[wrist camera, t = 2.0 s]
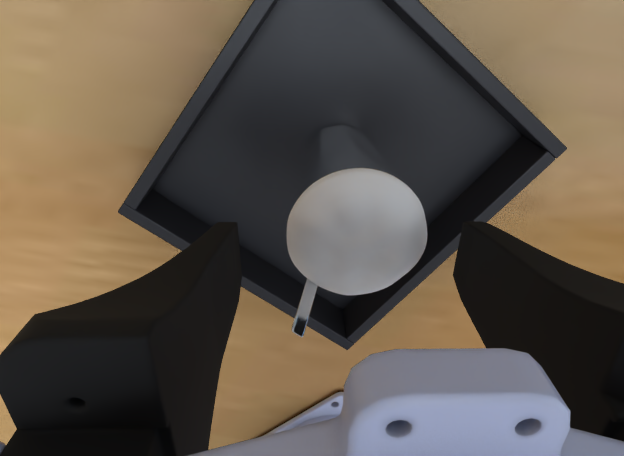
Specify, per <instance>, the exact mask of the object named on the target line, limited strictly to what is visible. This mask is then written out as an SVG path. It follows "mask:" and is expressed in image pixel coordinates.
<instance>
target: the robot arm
mask: <svg viewBox="0 0 624 456" xmlns="http://www.w3.org/2000/svg"><path fill="white" fill-rule="evenodd" d="M453 277H454V280H455V283H456V286H457V289H458V292H459V295H460V298H461V300H462V302H463V305H464V307H465V308H466V310H467V312H468V314H469V316H470V318H471V320H472V322H473V324H474V326H475V328H476V330H477V331H478V333H479V335H480V337H481V339H482V341H483V343H484V345H485V346H486V348H481V349H394V350H389V351H384V352H380V353H375V354H371V355H369V356H368V357H366V358H365V359H364V360H362V361H361V362H359V363H358V364H357V365H355V366H354V367H352V368H351V371H350V373H349V375H348V378H347V380H346V382H345V384H344V392H337V393H335V394H334V395H332V396H330V397H328V398H327V399H325V400H323V401H322V402H320V403H318V404H316V405H315V406H313V407H311V408H310V409H308V410H306V411H304V412H303V413H301V414H299V415H298V416H296V417H294V418H292V419H291V420H289V421H287V422H286V423H284V424H282V425H281V426H279V427H277V428H275V429H274V430H272V431H270V432H269V433H267V434H265V435H263V436H262V437H258V438H254V439H250V440H246V441H242V442H238V443H234V444H230V445H227V446H223V447H219V448H215V449H211V450H208V446H209V438H210V431H211V424H212V417H213V411H214V404H215V397H216V391H217V385H218V379H219V373H220V368H221V363H222V359H223V355H224V352H225V348H226V344H227V341H228V337H229V334H230V330H231V327H232V323H233V320H234V316H235V313H236V309H237V305H238V302H239V295H240V287H241V280H242V271H241V259H240V247H239V235H238V223H237V222H218V223H216V224H215V225H214V226H212V227H211V228H210V229H209V230H208V231H207V232H205V233H204V234H203V235H202V236H201V237H199V238H198V239H197V240H196V241H195V242H193V243H192V244H191V245H190V246H188V247H187V248H186V249H184V250H183V251H182V252H180V253H179V254H177V255H176V256H175V257H173V258H172V259H171V260H169V261H168V262H166V263H165V264H163V265H162V266H160V267H158V268H157V269H155V270H153V271H152V272H150V273H148V274H146V275H144V276H143V277H141V278H139V279H137V280H134V281H132V282H130V283H128V284H126V285H124V286H121V287H119V288H117V289H115V290H113V291H110V292H108V293H105V294H102V295H100V296H97V297H94V298H91V299H88V300H85V301H82V302H79V303H76V304H73V305H69V306H65V307H62V308H58V309H54V310H50V311H47V312H43V313H38V314H35V315H34V316H33V317H32V318H31V319H30V320H29V322H28V323H27V324H26V325H25V326H24V327H23V329H22V330H21V331H20V332H19V333H18V334H17V336H16V337H15V338H14V339H13V340H12V342H11V343H10V344H9V345H8V346H7V347H6V349H5V350H4V351H3V352H2V353H1V355H0V394H1V396H2V399H3V401H4V403H5V405H6V407H7V409H8V411H9V413H10V415H11V417H12V419H13V422H14V424H15V426H16V428H17V430H16V432H15V433H14V435H13V436H12V438H11V439H10V441H9V442H8V444H7V445H5V444H4V443H3V442H1V441H0V456H624V284H623V283H620V282H616V281H613V280H610V279H607V278H604V277H601V276H599V275H596V274H593V273H591V272H588V271H586V270H583V269H580V268H578V267H575V266H573V265H571V264H568V263H566V262H564V261H562V260H559V259H557V258H555V257H553V256H551V255H549V254H547V253H545V252H543V251H541V250H539V249H537V248H535V247H533V246H531V245H529V244H527V243H525V242H523V241H521V240H519V239H518V238H516V237H514V236H512V235H510V234H508V233H506V232H504V231H502V230H501V229H499V228H497V227H495V226H492V225H490V224H488V223H485V222H482V221H465V222H463V226H462V231H461V236H460V241H459V246H458V251H457V257H456V262H455V267H454V272H453Z"/></svg>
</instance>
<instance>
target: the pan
mask: <svg viewBox="0 0 624 456" xmlns="http://www.w3.org/2000/svg"><path fill="white" fill-rule="evenodd" d="M339 124H344V125H347V126H349V127H352V128H354V129H357V130H359V131H362V132H363V133H364V135H365V136H366V137H367V139H368V140H369V141H370V142H371V144H372V145H373V146H374V148H375V149H376V150H377V151H378V153H379V154H380V155H381V156H382V158H383V159H384V160H385V161H386V163H387V164H388V165H389V166H390V167H391V168H392V169H393V170H394V171H395V172H396V174H397V175H398V176H399V177H400V178H401V179H402V180H403V181H404V182H405V183H406V184H407V185H408V187H409V188H410V189H411V190H412V191H413V192H414V193H415V195H416V196H417V197H418V199H419V200H420V202H421V204H422V207H423V210H424V213H425V218H426V224H427V243H426V247H425V250H424V252H423V254H422V256H421V258H420V259H419V261H418V262H417V264H416V265H415V266H414V267H413V268H412V269H411V270H410V271H409V272H408V273H406V274H405V275H404V276H403V277H401V278H400V279H399V280H398V281H396V282H395V283H393V284H392V285H390V286H389V287H387V288H384V289H382V290H379V291H376V292H372V293H368V294H361V295H342V294H337V293H334V292H331V291H328V290H326V289H324V288H321V287H319V286H318V287H317V290H316V294H315V297H314V301H313V304H312V308H311V311H310V315H309V318H308V322H307V325H306V326H308V327H310V328H311V329H313V330H315V331H316V332H318V333H320V334H321V335H323V336H325V337H326V338H328V339H330V340H331V341H333V342H335V343H336V344H338V345H340V346H341V347H343V348H345V349H346V350H348V349H349V348H350V347H351V346H352V345H354V343H356V342H357V341H358V340H359V339H360V338H361V337H362V336H363V335H364V334H365V333H366V332H368V331H369V330H370V329H371V328H372V327H373V326H374V325H375V324H376V323H377V322H378V321H380V320H381V319H382V318H383V317H384V316H385V315H386V314H387V313H388V312H389V311H390V310H392V309H393V308H394V307H395V306H396V305H397V304H398V303H399V302H400V301H401V300H402V299H404V298H405V297H406V296H407V295H408V294H409V293H410V292H411V291H412V290H413V289H414V288H416V287H417V286H418V285H419V284H420V283H421V282H422V281H423V280H424V279H425V278H426V277H428V276H429V275H430V274H431V273H432V272H433V271H434V270H435V269H436V268H437V267H439V266H440V265H441V264H442V263H443V262H444V261H445V260H446V259H447V258H448V257H449V256H451V255H452V254H453V253H454V252H455V251H456V250H457V249H458V246H459V241H460V236H461V231H462V226H463V222H465V221H482V222H485V223H487V222H488V221H489V220H490V219H491V218H492V217H493V216H494V215H495V214H496V213H497V212H499V211H500V210H501V209H502V208H503V207H504V206H505V205H506V204H507V203H508V202H509V201H511V200H512V199H513V198H514V197H515V196H516V195H517V194H518V193H519V192H520V191H521V190H523V189H524V188H525V187H526V186H527V185H528V184H529V183H530V182H531V181H532V180H533V179H535V178H536V177H537V176H538V175H539V174H540V173H541V172H542V171H543V170H544V169H545V168H547V167H548V166H549V165H550V164H551V163H552V162H553V161H554V160H555V158H558V157H559V156H560V155H561V154H562V153H563V152H564V151H565V150H566V149H567V147H566V146H565V145H564V144H563V143H562V142H561V141H560V140H559V139H558V138H557V137H556V136H555V135H554V134H553V133H552V132H551V131H550V130H549V129H548V128H547V127H546V126H545V125H544V124H543V123H542V122H541V121H539V120H538V119H537V118H536V117H535V116H534V115H533V114H532V113H531V112H530V111H529V110H528V109H527V108H526V107H525V106H524V105H523V104H522V103H521V102H520V101H519V100H518V99H517V98H516V97H515V96H514V95H513V94H512V93H511V92H510V91H509V90H508V89H507V88H506V87H505V86H504V85H503V84H502V83H501V82H500V81H499V80H498V79H497V78H496V77H495V76H494V75H493V74H492V73H491V72H490V71H489V70H488V69H487V68H486V67H485V66H484V65H483V64H482V63H481V62H480V61H479V60H478V59H477V58H476V57H475V56H474V55H473V54H472V53H471V52H470V51H469V50H468V49H467V48H466V47H465V46H464V45H463V44H462V43H461V42H460V41H459V40H458V39H457V38H456V37H455V36H454V35H453V34H452V33H451V32H450V31H449V30H448V29H447V28H446V27H445V26H444V25H443V24H442V23H441V22H440V21H439V20H438V19H437V18H436V17H435V16H434V15H433V14H432V13H431V12H430V11H429V10H428V9H427V8H426V7H425V6H424V5H423V4H422V3H421V2H420V1H419V0H254V1H253V3H252V4H251V6H250V8H249V9H248V11H247V12H246V14H245V15H244V17H243V18H242V20H241V21H240V23H239V25H238V26H237V28H236V29H235V31H234V32H233V34H232V35H231V37H230V38H229V40H228V42H227V43H226V45H225V46H224V48H223V49H222V51H221V52H220V54H219V56H218V57H217V59H216V60H215V62H214V63H213V65H212V66H211V68H210V69H209V71H208V73H207V74H206V76H205V77H204V79H203V80H202V82H201V83H200V85H199V87H198V88H197V90H196V91H195V93H194V94H193V96H192V97H191V99H190V100H189V102H188V104H187V105H186V107H185V108H184V110H183V111H182V113H181V114H180V116H179V117H178V119H177V121H176V122H175V124H174V125H173V127H172V128H171V130H170V131H169V133H168V135H167V136H166V138H165V139H164V141H163V142H162V144H161V145H160V147H159V148H158V150H157V152H156V153H155V155H154V156H153V158H152V159H151V161H150V162H149V164H148V165H147V167H146V169H145V170H144V172H143V173H142V175H141V176H140V178H139V179H138V181H137V183H136V184H135V186H134V187H133V189H132V190H131V192H130V193H129V195H128V196H127V198H126V200H125V201H124V203H123V204H122V206H121V207H120V209H119V210H118V213H120V214H121V215H123V216H125V217H126V218H128V219H130V220H131V221H133V222H135V223H136V224H138V225H140V226H141V227H143V228H145V229H146V230H148V231H150V232H151V233H153V234H155V235H156V236H158V237H160V238H161V239H163V240H165V241H166V242H168V243H170V244H171V245H173V246H175V247H176V248H178V249H180V250H181V251H183V250H184V249H186V248H187V247H188V246H190V245H191V244H192V243H193V242H195V241H196V240H197V239H198V238H199V237H201V236H202V235H203V234H204V233H205V232H207V231H208V230H209V229H210V228H211V227H212V226H214V225H215V224H216V223H218V222H237V223H238V235H239V247H240V259H241V271H242V280H241V287H243V288H245V289H246V290H248V291H250V292H251V293H253V294H255V295H256V296H258V297H260V298H261V299H263V300H265V301H266V302H268V303H270V304H271V305H273V306H275V307H276V308H278V309H280V310H281V311H283V312H285V313H286V314H288V315H290V316H291V317H293V318H295V316H296V313H297V309H298V306H299V303H300V300H301V296H302V293H303V290H304V287H305V284H306V280H307V278H306V277H305V276H304V275H303V274H302V273H301V272H300V271H299V270H298V269H297V268H296V266H295V265H294V263H293V262H292V260H291V258H290V255H289V252H288V248H287V222H288V218H289V214H290V212H291V209H292V206H293V202H294V199H295V195H296V192H297V189H298V185H299V181H300V177H301V172H302V167H303V163H304V158H305V153H306V148H307V145H308V144H309V143H310V142H311V140H312V139H313V138H314V137H315V136H316V134H317V133H318V132H319V131H320V130H321V129H323V128H327V127H331V126H335V125H339Z"/></svg>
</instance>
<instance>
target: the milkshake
mask: <svg viewBox="0 0 624 456" xmlns="http://www.w3.org/2000/svg"><path fill="white" fill-rule="evenodd" d="M426 243H427V224H426V218H425V213H424V210H423V207H422V204H421V202H420V200H419V199H418V197H417V196H416V195H415V193H414V192H413V191H412V190H411V189H410V188H409V187H408V185H407V184H406V183H405V182H404V181H403V180H402V179H401V178H400V177H399V176H398V175H397V174H396V172H395V171H394V170H393V169H392V168H391V167H390V166H389V165H388V164H387V163H386V161H385V160H384V159H383V158H382V156H381V155H380V154H379V153H378V151H377V150H376V149H375V148H374V146H373V145H372V144H371V142H370V141H369V140H368V139H367V137H366V136H365V135H364V133H363V132H362V131H359V130H357V129H354V128H352V127H349V126H347V125H344V124H339V125H335V126H331V127H327V128H323V129H321V130H320V131H319V132H318V133H317V134H316V136H315V137H314V138H313V139H312V140H311V142H310V143H309V144H308V145H307V148H306V153H305V158H304V163H303V167H302V172H301V177H300V181H299V185H298V189H297V192H296V195H295V199H294V202H293V206H292V209H291V212H290V214H289V218H288V222H287V248H288V252H289V255H290V258H291V260H292V262H293V263H294V265H295V266H296V268H297V269H298V270H299V271H300V272H301V273H302V274H303V275H304V276H305V277H306V278H307V280H306V284H305V287H304V290H303V293H302V296H301V300H300V303H299V306H298V309H297V313H296V316H295V319H294V322H293V326H292V332H293V333H295V334H297V335H298V336H300V337H303V335H304V332H305V329H306V325H307V322H308V318H309V315H310V311H311V308H312V304H313V301H314V297H315V294H316V290H317V287H318V286H319V287H321V288H324V289H326V290H328V291H331V292H334V293H337V294H342V295H361V294H368V293H372V292H376V291H379V290H382V289H384V288H387V287H389V286H390V285H392V284H393V283H395V282H396V281H398V280H399V279H400V278H401V277H403V276H404V275H405V274H406V273H408V272H409V271H410V270H411V269H412V268H413V267H414V266H415V265H416V264H417V262H418V261H419V259H420V258H421V256H422V254H423V252H424V250H425V247H426Z"/></svg>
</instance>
